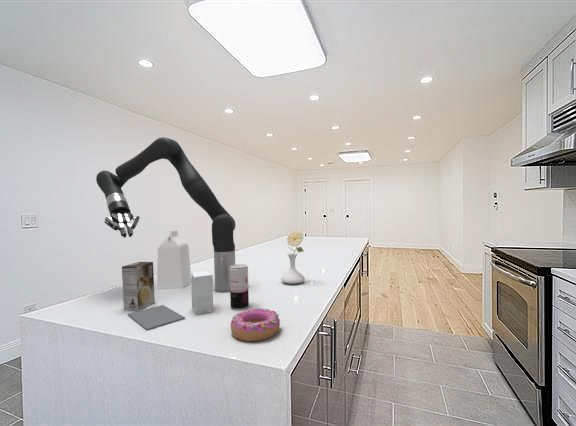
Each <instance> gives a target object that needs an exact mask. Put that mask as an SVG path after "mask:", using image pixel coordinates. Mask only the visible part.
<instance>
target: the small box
mask: <svg viewBox="0 0 576 426" xmlns="http://www.w3.org/2000/svg"><path fill="white" fill-rule="evenodd" d="M213 280H214V279H213V274H212V272H210V270H205V271H204V270H203V271H194V272H191V308H192V310H193V312H194V315H201V314H206V313H212V312H214V287H213V283H214V282H213Z"/></svg>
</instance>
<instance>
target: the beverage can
mask: <svg viewBox="0 0 576 426" xmlns="http://www.w3.org/2000/svg"><path fill="white" fill-rule="evenodd" d="M248 267H249V266H248V265H247V264H243V263H242V264H241V263H240V264H235V265H232V266H230V291H229V293H230V308H231V309H233V310H235V311H236V310H239V311H240V310H246V309H247V308H248V307H249V305H250V303H249V301H250V300H249V296H250V295H249V268H248Z"/></svg>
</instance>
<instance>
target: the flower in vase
mask: <svg viewBox="0 0 576 426" xmlns="http://www.w3.org/2000/svg"><path fill="white" fill-rule="evenodd" d="M303 239H304V237H303V232H301V231H299V230H295V231H292V232H290V233H289V234H288V235H287V238H286V242H287V245H288V246H287V247H288V249H290V250H291V251H293V252H289V253H287V257H288V258H289V264H290V265H289V267H290V268H289V269H288V271H287V272H285V273H284V274H283V275H282V276H281V279H280V280H281V282H282V283H285V284H290V285H292V284H300V283H303V282H304V281H305V280H306V278H305V276H304V275H303V273H300V272H299V271H298V270H297V268H296V258H297V256H298V253H302V252H304V249H303V247H302V246H299V245H301V244H302V243H303V241H304V240H303ZM289 246H291V247H294V248H295V247H296V248H295V249H292V248H290V247H289ZM298 246H299V247H298ZM296 251H297V253H296Z"/></svg>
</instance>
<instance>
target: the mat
mask: <svg viewBox="0 0 576 426" xmlns="http://www.w3.org/2000/svg"><path fill="white" fill-rule="evenodd" d="M127 316H128V317H129V318H130V319H131V320H133V321H134V322H135V323H136V324H138V325H139V326H140V327H142V328H143V329H144V330H145V331H150V330H152V329H153V330H154V329H157V328H159V327H164V326H166V325H169V324H173V323H176V322H179V321H182V320H185V319H186V317H185V316H184V315H182V314H180V313H179V312H176V311H175V310H173V309H171V308H170V307H168V306H166V305H164V304H161V305H158V306H154V307H150V308H144V309H141V310H139V311H134V312H133V311H132V312H130V313H129V312H128V313H127Z"/></svg>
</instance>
